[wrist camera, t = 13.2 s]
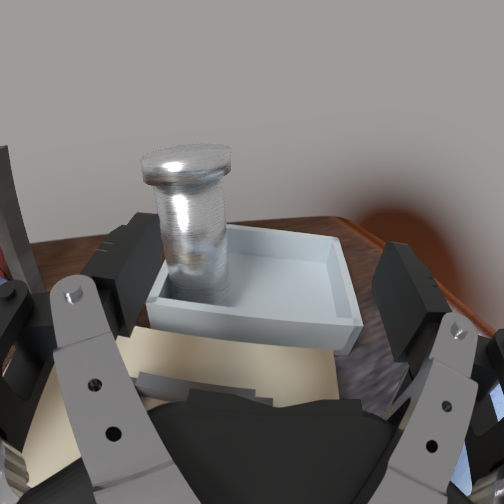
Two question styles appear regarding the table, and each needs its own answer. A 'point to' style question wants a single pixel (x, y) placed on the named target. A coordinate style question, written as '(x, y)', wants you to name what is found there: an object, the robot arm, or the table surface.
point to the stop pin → (193, 219)
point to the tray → (271, 294)
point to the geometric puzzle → (2, 269)
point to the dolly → (158, 361)
